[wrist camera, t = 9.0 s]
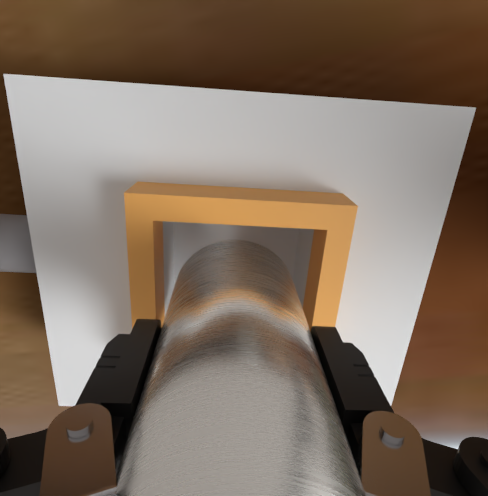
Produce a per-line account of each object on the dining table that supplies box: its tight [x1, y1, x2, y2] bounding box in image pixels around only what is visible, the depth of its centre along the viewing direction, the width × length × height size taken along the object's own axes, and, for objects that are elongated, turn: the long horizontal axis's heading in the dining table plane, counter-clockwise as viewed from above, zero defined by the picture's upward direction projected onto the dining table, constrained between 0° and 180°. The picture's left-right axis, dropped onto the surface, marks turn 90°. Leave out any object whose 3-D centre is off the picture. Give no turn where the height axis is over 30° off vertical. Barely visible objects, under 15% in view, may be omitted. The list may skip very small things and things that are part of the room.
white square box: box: [0, 74, 476, 406], centre depth 18 cm, size 22×16×8 cm
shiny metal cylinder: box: [116, 240, 366, 496], centre depth 10 cm, size 5×5×10 cm
